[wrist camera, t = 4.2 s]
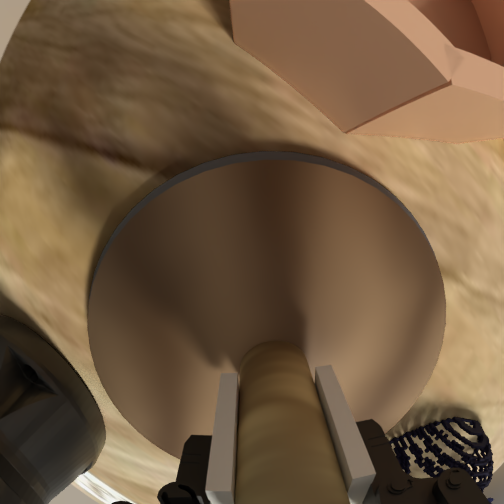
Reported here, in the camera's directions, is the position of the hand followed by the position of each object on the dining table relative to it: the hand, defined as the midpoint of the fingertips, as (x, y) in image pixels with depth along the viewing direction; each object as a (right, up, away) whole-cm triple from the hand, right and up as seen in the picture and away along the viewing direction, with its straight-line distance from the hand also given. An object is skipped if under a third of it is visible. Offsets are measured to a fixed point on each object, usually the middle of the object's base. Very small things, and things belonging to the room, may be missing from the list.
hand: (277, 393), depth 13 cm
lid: (0, +1, +3) cm, 3 cm away
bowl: (+7, +22, -1) cm, 23 cm away
